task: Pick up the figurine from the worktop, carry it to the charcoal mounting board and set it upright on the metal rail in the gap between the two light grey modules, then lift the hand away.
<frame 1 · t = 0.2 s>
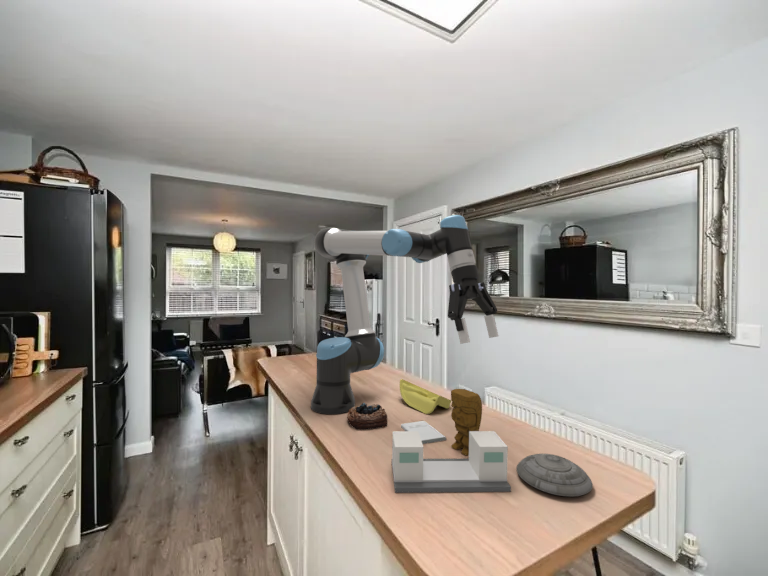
hand: (480, 340, 98), 27 cm above the table, tool tilted 15°, fingers open, 13 cm apart
figurine: (466, 449, 91), on the table
external hard drive: (422, 436, 101), on the table
rail board: (446, 476, 78), on the table
plastic component: (423, 405, 126), on the table
pastry: (367, 423, 108), on the table
flying saucer: (552, 482, 77), on the table
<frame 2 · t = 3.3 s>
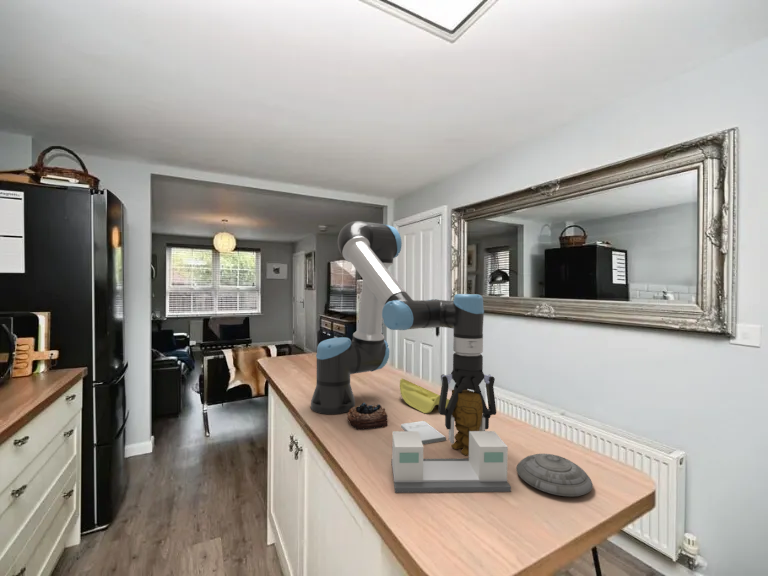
hand: (466, 440, 91), 2 cm above the table, tool pointing down, fingers closed on figurine, 7 cm apart
figurine: (466, 449, 91), on the table, touching gripper
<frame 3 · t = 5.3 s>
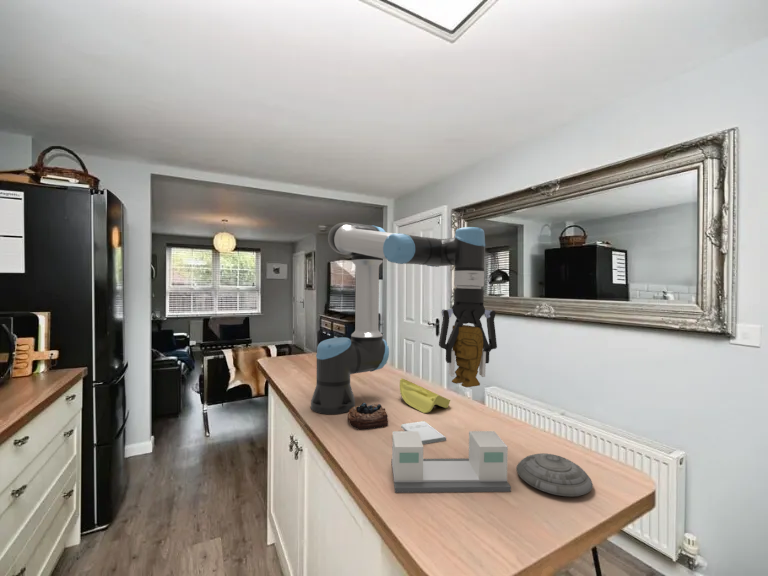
hand: (466, 375, 91), 19 cm above the table, tool pointing down, fingers closed on figurine, 7 cm apart
figurine: (466, 384, 91), point 17 cm above the table, touching gripper
everything else where it was.
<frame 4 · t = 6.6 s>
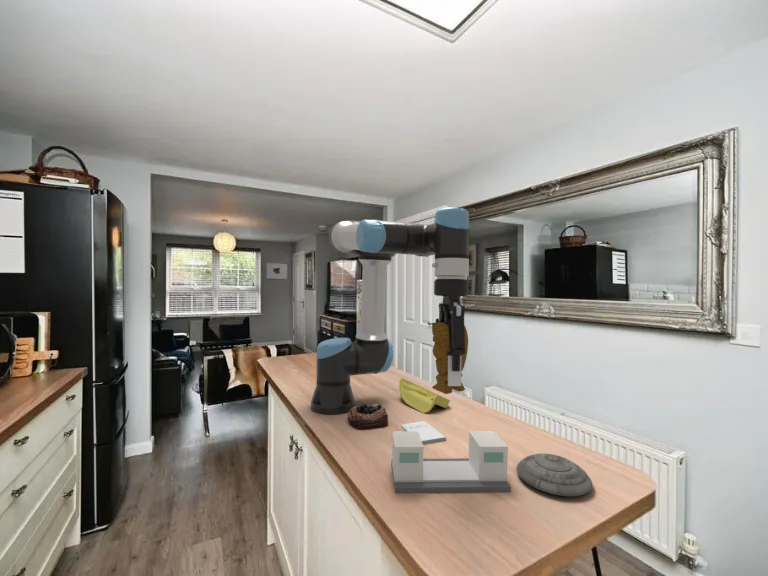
hand: (449, 380, 78), 21 cm above the table, tool pointing down, fingers closed on figurine, 7 cm apart
figurine: (449, 390, 78), point 19 cm above the table, touching gripper
everything else where it was.
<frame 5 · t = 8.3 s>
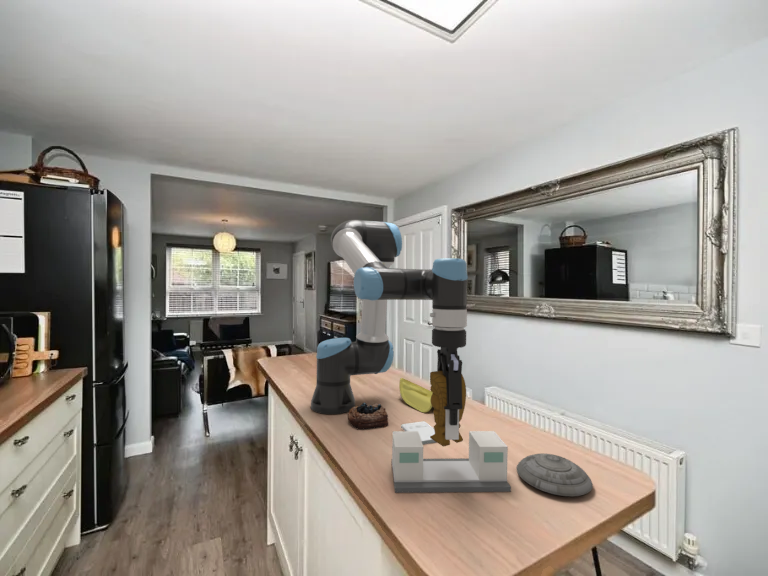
hand: (447, 430, 78), 10 cm above the table, tool pointing down, fingers closed on figurine, 7 cm apart
figurine: (447, 441, 78), point 8 cm above the table, touching gripper
when the fingers open (5 cm above the table, at t = 9.7 s): figurine drops 1 cm, resting on rail board.
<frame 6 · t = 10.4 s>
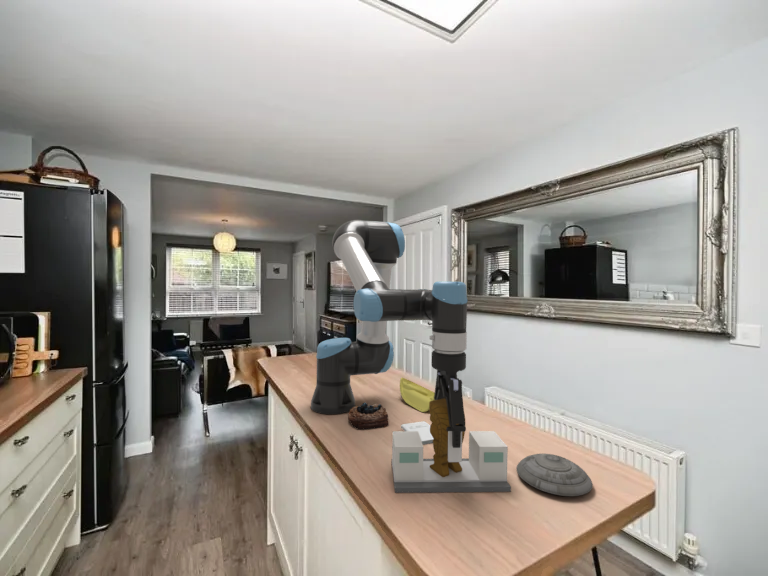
hand: (447, 446, 78), 7 cm above the table, tool pointing down, fingers open, 13 cm apart
figurine: (446, 470, 78), point 1 cm above the table, touching rail board
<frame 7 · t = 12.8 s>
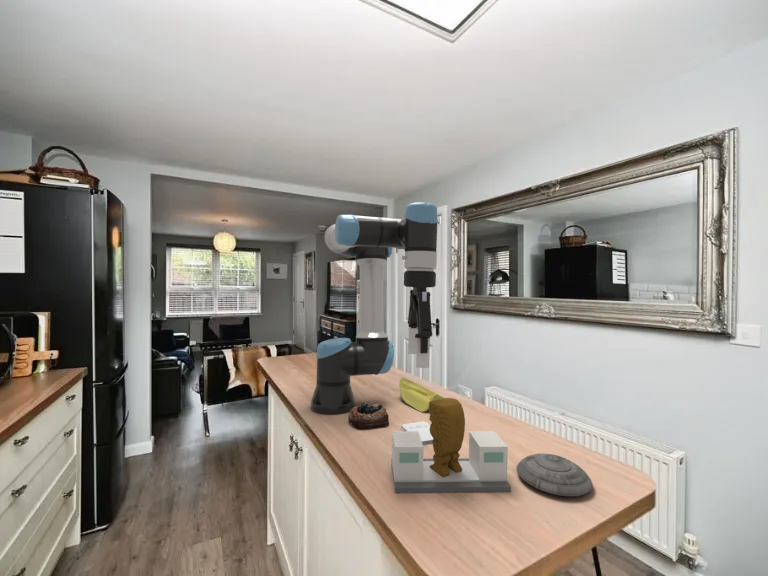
hand: (417, 360, 83), 25 cm above the table, tool pointing down, fingers open, 13 cm apart
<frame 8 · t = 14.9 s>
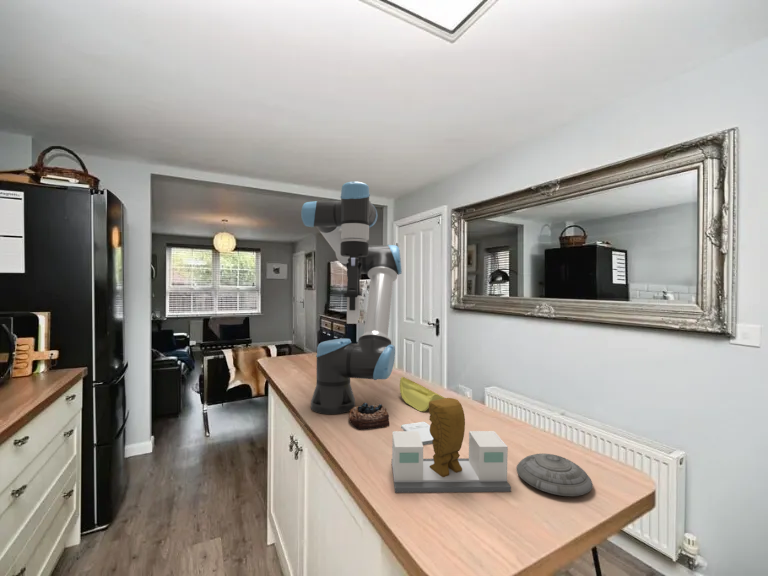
hand: (353, 321, 94), 33 cm above the table, tool pointing down, fingers open, 13 cm apart
at the end: figurine 0.1 cm off-centre on the rail board, point 1.2 cm above the rail board's base; figurine tilted 0°; the gripper is holding nothing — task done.
